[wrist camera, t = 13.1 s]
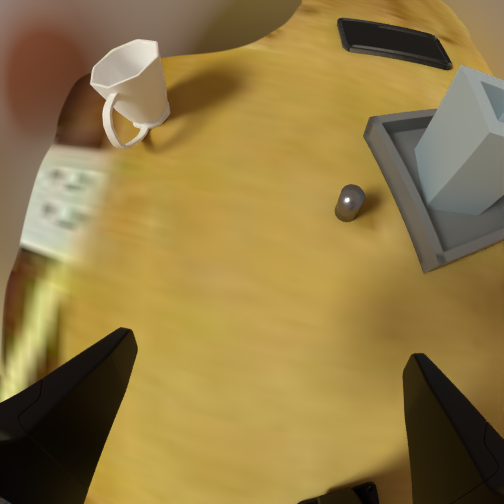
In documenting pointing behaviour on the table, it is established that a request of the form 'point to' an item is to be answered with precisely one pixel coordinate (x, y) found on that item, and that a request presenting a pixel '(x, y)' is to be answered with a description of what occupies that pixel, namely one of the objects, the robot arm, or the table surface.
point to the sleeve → (464, 146)
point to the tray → (411, 201)
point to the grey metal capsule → (349, 203)
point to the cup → (132, 88)
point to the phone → (392, 42)
